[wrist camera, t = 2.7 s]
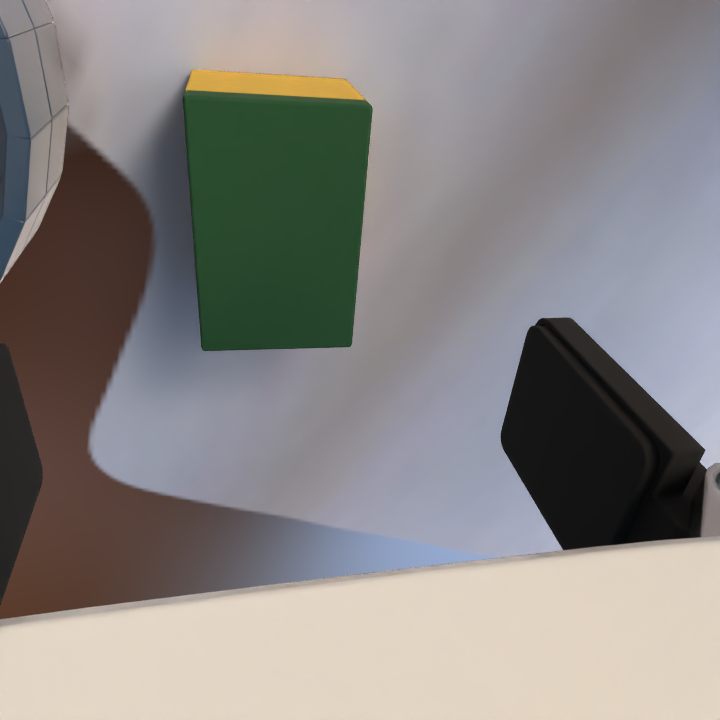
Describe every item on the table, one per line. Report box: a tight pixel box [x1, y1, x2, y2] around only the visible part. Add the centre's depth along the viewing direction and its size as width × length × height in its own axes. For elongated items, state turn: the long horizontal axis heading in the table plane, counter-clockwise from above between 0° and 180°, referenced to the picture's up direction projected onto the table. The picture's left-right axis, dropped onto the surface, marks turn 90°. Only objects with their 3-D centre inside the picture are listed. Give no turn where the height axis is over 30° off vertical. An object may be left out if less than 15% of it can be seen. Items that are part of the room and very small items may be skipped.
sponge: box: [183, 70, 373, 351], centre depth 18 cm, size 7×4×4 cm, turn 175°
